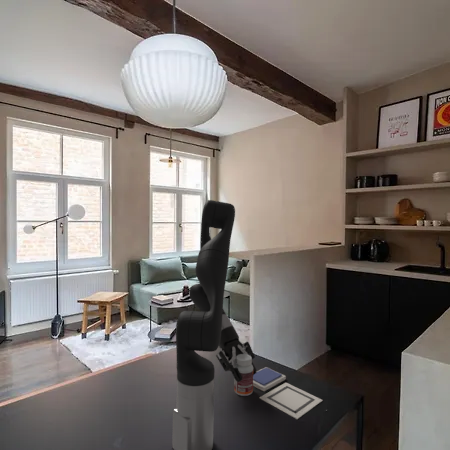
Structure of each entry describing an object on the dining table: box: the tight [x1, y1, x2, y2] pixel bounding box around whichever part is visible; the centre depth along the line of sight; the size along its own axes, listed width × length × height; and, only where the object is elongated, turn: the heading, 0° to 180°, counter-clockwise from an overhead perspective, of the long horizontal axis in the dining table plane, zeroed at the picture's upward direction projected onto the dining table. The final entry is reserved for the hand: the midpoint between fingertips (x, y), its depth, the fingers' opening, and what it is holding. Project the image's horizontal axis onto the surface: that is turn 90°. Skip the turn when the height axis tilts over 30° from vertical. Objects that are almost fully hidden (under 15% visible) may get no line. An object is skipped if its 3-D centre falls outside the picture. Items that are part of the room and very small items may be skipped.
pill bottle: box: [233, 354, 254, 397], centre depth 102 cm, size 6×6×11 cm
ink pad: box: [253, 366, 287, 392], centre depth 109 cm, size 12×9×2 cm
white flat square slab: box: [258, 382, 323, 420], centre depth 98 cm, size 14×14×1 cm
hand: (247, 377), depth 101 cm, fingers closed on pill bottle, 6 cm apart
